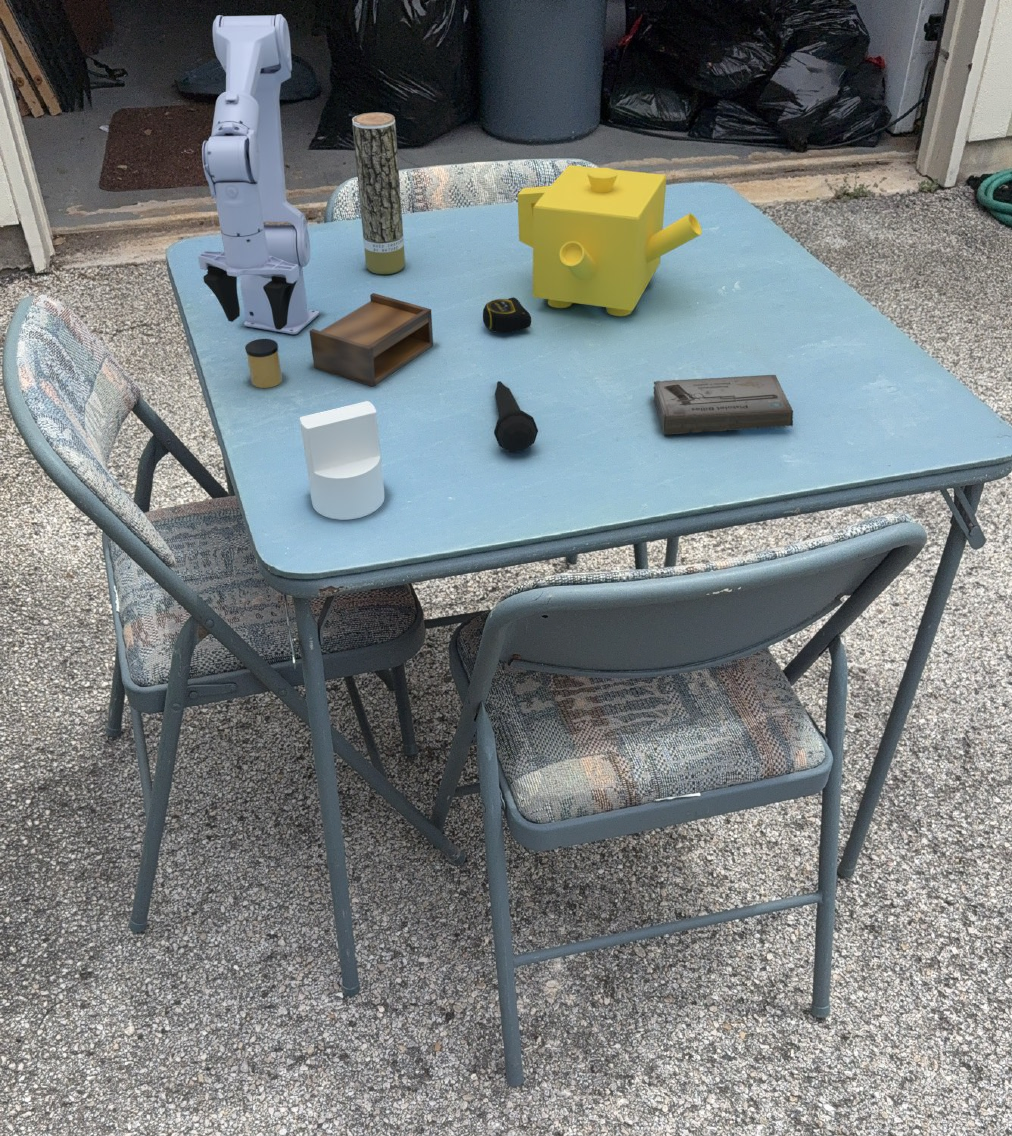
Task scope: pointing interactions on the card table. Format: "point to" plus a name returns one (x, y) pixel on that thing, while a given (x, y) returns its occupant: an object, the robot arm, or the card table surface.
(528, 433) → the microphone
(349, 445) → the base with upright slab
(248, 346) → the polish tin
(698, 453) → the card table surface
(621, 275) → the yellow cubic teapot
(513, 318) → the tape measure
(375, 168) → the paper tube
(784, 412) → the box
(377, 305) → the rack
